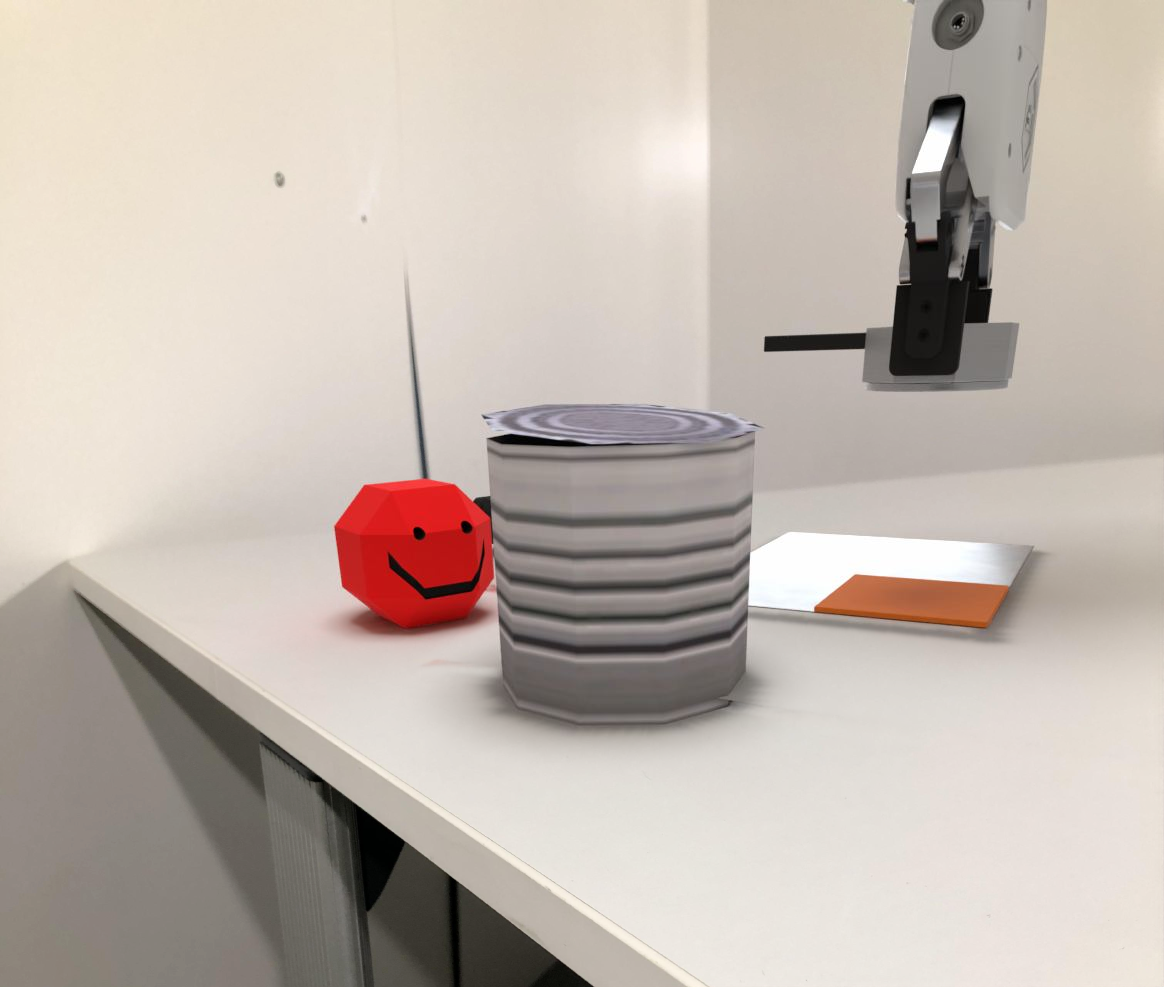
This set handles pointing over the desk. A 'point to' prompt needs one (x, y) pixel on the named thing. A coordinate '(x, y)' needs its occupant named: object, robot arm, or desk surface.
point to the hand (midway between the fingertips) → (937, 370)
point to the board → (869, 566)
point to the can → (621, 559)
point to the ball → (415, 551)
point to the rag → (916, 600)
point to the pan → (979, 369)
